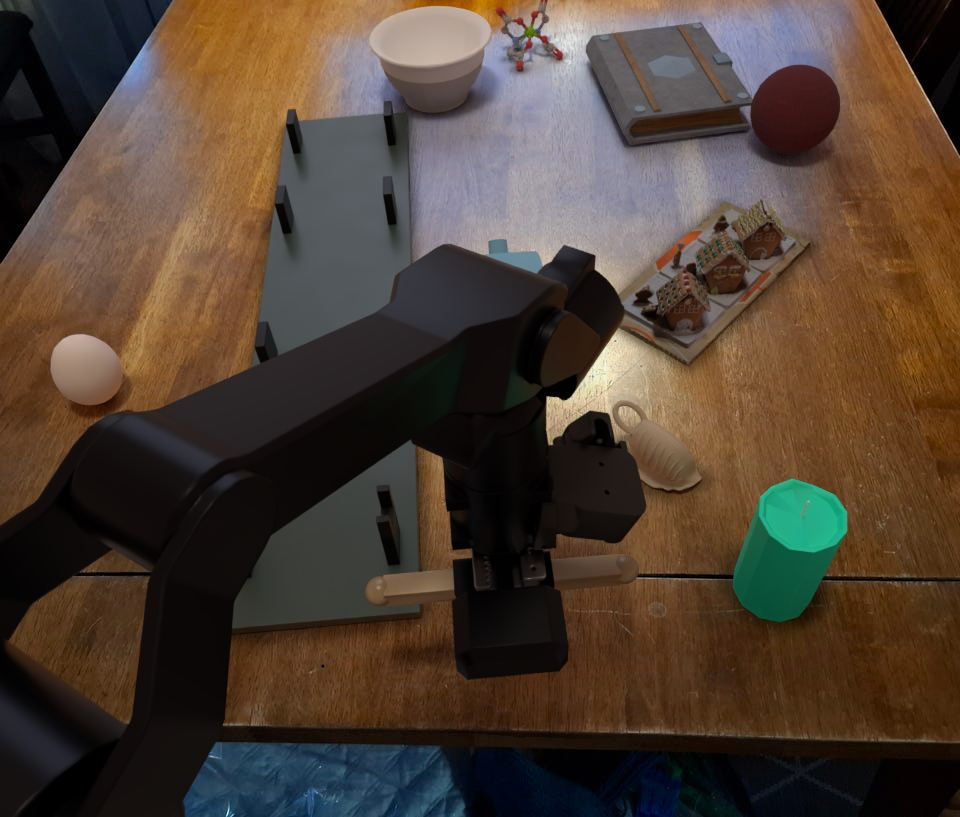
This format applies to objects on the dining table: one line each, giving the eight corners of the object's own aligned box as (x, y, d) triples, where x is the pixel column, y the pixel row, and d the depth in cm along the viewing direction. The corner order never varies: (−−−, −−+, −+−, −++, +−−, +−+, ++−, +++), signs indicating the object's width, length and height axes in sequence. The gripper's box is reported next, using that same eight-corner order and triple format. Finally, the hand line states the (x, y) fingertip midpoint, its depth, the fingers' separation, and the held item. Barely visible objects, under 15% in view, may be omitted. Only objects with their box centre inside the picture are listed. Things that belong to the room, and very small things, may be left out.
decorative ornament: (670, 506, 72) (678, 469, 68) (602, 446, 76) (605, 408, 72) (703, 480, 74) (713, 443, 69) (634, 423, 78) (640, 384, 74)
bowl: (354, 101, 116) (343, 40, 110) (434, 54, 123) (429, -6, 117) (437, 141, 109) (431, 79, 102) (518, 89, 116) (517, 27, 110)
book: (585, 65, 119) (586, 30, 115) (699, 50, 120) (705, 15, 116) (622, 148, 106) (625, 112, 102) (751, 132, 107) (759, 95, 103)
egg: (103, 427, 81) (70, 373, 75) (57, 407, 83) (20, 353, 77) (146, 383, 84) (117, 329, 78) (100, 365, 86) (68, 310, 80)
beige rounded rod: (640, 588, 58) (643, 573, 56) (367, 613, 58) (362, 599, 56) (634, 562, 59) (637, 547, 58) (367, 586, 59) (363, 572, 57)
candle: (827, 598, 66) (874, 513, 57) (768, 635, 64) (807, 555, 55) (773, 541, 69) (809, 452, 60) (715, 575, 68) (743, 489, 58)
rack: (421, 617, 67) (410, 570, 61) (217, 635, 67) (187, 590, 61) (407, 118, 113) (400, 64, 107) (287, 128, 113) (274, 75, 107)
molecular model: (493, 51, 123) (491, -1, 117) (542, 37, 125) (542, -15, 119) (515, 73, 119) (514, 20, 113) (565, 58, 121) (567, 5, 115)
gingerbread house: (598, 317, 87) (601, 268, 82) (723, 207, 97) (733, 157, 92) (688, 366, 82) (697, 317, 77) (810, 245, 92) (825, 194, 87)
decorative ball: (839, 137, 105) (863, 60, 97) (810, 180, 100) (833, 102, 92) (761, 116, 109) (778, 40, 101) (730, 156, 104) (745, 79, 96)
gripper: (678, 590, 40) (646, 711, 52) (611, 318, 52) (597, 467, 64) (445, 611, 40) (466, 728, 52) (431, 334, 52) (450, 480, 64)
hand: (502, 587), depth 58 cm, fingers closed on beige rounded rod, 2 cm apart
